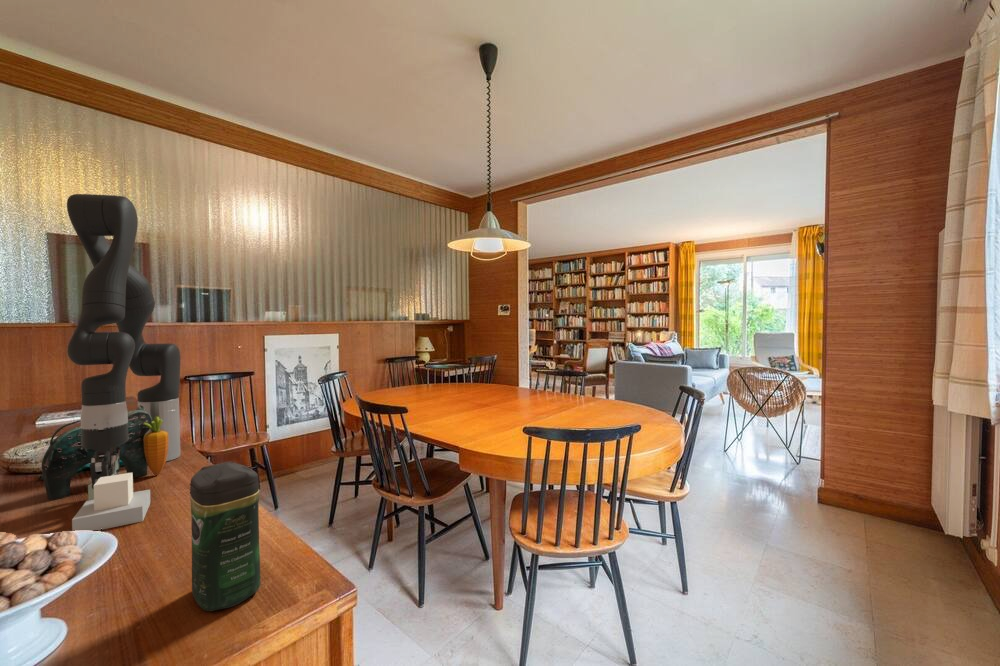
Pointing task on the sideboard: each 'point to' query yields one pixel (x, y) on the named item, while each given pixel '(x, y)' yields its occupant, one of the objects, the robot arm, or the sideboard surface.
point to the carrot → (156, 446)
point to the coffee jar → (224, 535)
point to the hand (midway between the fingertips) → (107, 499)
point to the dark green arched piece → (91, 454)
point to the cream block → (113, 491)
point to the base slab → (112, 514)
